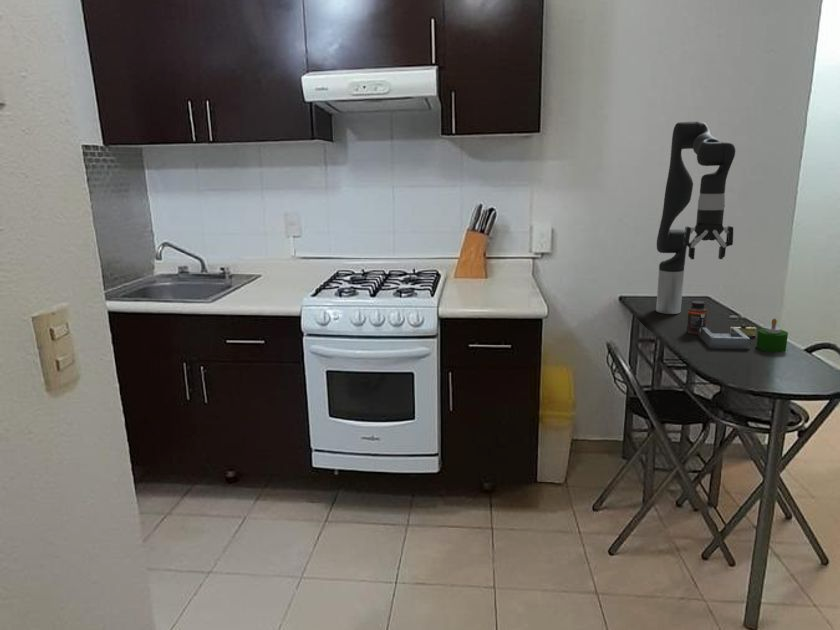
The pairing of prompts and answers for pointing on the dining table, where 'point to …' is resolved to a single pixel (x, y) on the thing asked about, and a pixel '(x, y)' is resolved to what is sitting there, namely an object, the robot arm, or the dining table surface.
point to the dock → (725, 339)
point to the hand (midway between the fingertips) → (706, 259)
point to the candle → (772, 338)
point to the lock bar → (746, 330)
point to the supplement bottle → (696, 317)
